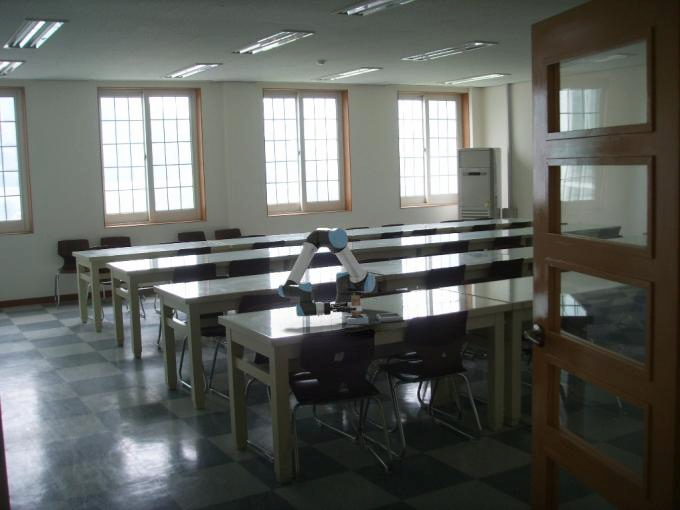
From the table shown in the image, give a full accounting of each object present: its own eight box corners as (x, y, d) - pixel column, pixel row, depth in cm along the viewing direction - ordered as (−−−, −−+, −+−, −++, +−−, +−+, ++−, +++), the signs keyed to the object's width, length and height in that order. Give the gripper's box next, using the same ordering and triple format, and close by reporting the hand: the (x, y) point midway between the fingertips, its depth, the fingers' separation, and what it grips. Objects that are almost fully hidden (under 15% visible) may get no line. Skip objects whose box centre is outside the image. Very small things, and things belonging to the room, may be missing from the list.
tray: (376, 318, 437) (376, 314, 437) (398, 316, 438) (398, 312, 438) (380, 322, 424) (379, 318, 424) (402, 321, 426) (402, 316, 425)
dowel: (351, 321, 432) (350, 295, 430) (360, 320, 432) (359, 295, 430) (352, 322, 427) (351, 296, 425) (361, 322, 427) (360, 296, 425)
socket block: (345, 320, 435) (344, 315, 434) (365, 319, 436) (365, 314, 436) (347, 324, 423) (347, 319, 422) (368, 323, 424) (368, 317, 424)
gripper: (321, 311, 439) (357, 308, 441) (325, 319, 414) (363, 316, 417) (321, 298, 438) (357, 296, 440) (324, 305, 414) (363, 303, 416)
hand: (360, 306), depth 428 cm, fingers open, 13 cm apart
